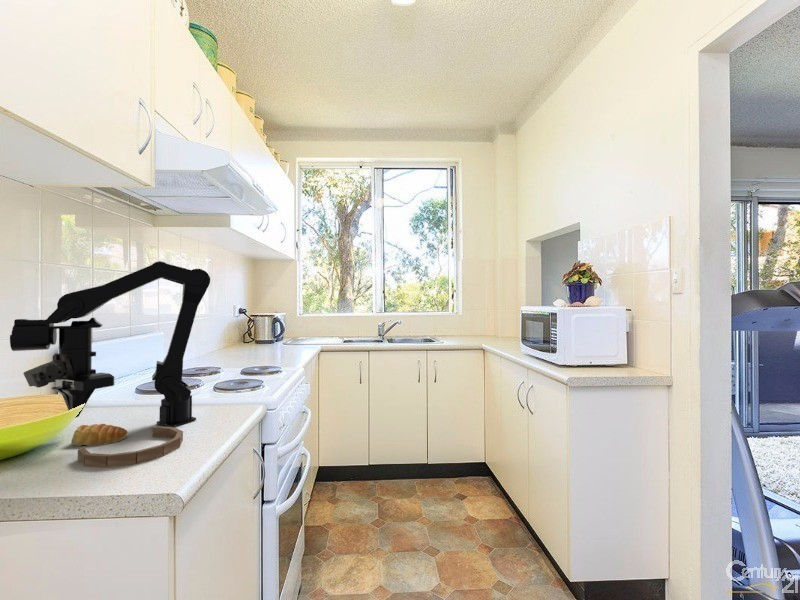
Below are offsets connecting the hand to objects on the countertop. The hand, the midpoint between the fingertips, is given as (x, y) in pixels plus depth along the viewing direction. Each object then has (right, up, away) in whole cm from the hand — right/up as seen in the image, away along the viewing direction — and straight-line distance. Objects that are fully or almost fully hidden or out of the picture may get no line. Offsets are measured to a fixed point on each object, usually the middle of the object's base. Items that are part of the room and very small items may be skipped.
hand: (74, 417), depth 87 cm
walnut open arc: (+21, -4, -9) cm, 23 cm away
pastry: (+7, -5, -3) cm, 9 cm away
